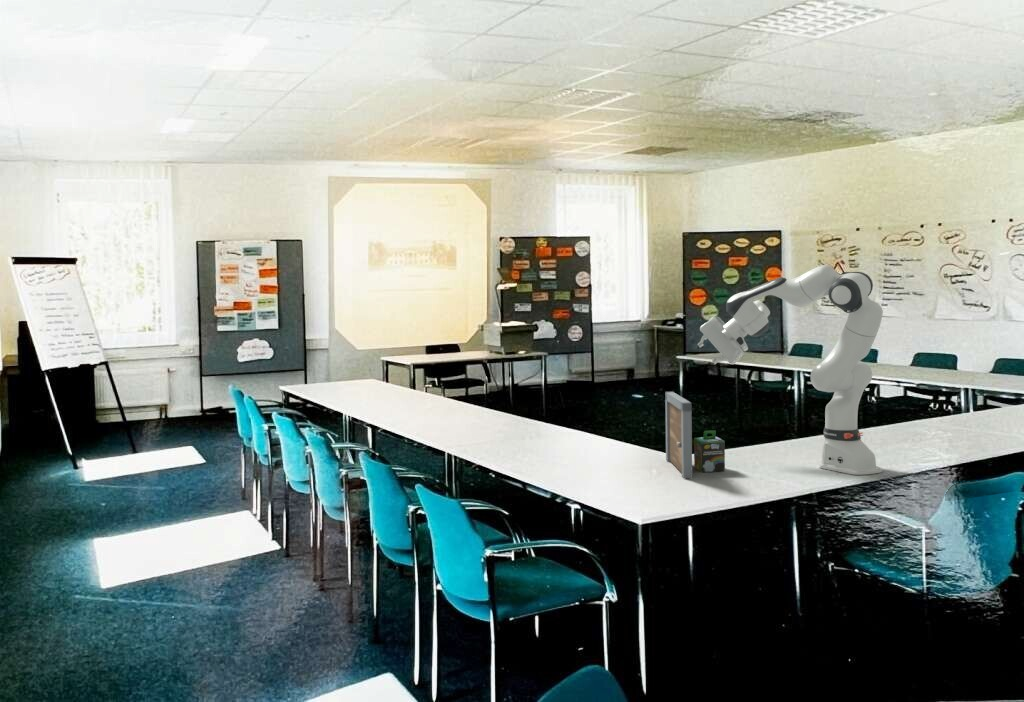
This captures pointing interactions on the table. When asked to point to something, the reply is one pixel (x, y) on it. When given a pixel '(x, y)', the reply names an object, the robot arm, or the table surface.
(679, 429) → the door
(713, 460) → the chalk box
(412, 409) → the table surface
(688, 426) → the door frame
